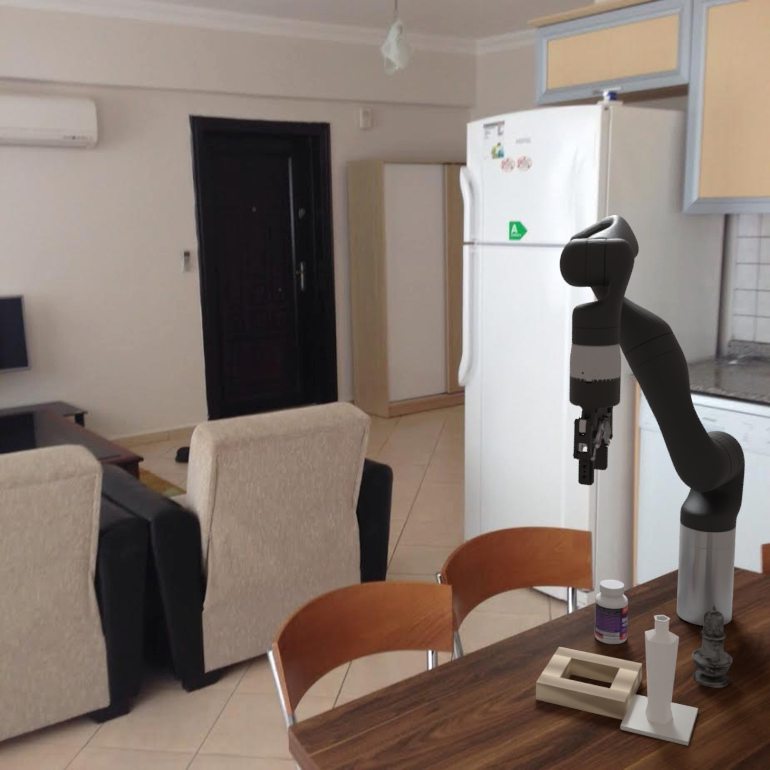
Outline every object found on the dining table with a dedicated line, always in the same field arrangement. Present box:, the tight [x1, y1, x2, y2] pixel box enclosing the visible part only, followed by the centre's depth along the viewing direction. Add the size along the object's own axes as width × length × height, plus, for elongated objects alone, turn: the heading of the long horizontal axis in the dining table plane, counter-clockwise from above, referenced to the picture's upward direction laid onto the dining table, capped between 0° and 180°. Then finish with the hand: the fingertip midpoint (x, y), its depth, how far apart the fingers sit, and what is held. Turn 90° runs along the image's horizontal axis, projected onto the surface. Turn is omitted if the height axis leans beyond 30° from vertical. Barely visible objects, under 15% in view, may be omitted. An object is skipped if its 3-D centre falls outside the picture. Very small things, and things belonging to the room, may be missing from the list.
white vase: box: [644, 614, 680, 725], centre depth 121 cm, size 5×4×15 cm
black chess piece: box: [691, 606, 733, 689], centre depth 132 cm, size 6×6×12 cm
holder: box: [535, 646, 643, 721], centre depth 130 cm, size 12×13×3 cm
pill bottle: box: [594, 579, 629, 645], centre depth 146 cm, size 5×5×10 cm
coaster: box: [620, 693, 699, 746], centre depth 122 cm, size 9×9×1 cm
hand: (593, 476), depth 133 cm, fingers open, 8 cm apart
